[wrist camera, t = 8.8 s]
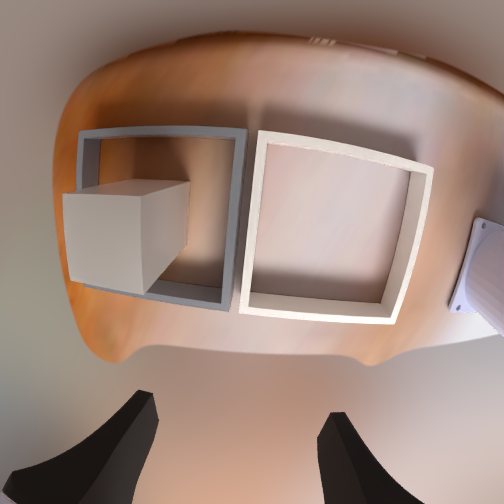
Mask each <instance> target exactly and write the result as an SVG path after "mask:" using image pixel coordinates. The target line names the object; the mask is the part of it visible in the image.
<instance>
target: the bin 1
mask: <svg viewBox="0 0 504 504" xmlns="http://www.w3.org/2000/svg"><path fill="white" fill-rule="evenodd" d="M137 137H184V138H209V139H225V140H236V141H235V150H234V159H233V169H232V179H231V189H230V200H229V211H228V222H227V234H226V246H225V259H224V272H223V286H222V288H215V287H207V286H200V285H193V284H186V283H179V282H172V281H165V280H158V279H157V280H156V281H155V282H154V283H153V284H152V286H151V287H150V288H149V289H148V290H147V292H146V293H145V294H144V295H140V294H135V293H129V292H124V291H119V290H114V289H109V288H104V287H99V286H94V285H89V284H85V283H83V285H84V287H89V288H93V289H98V290H103V291H107V292H112V293H117V294H122V295H127V296H132V297H138V298H143V299H148V300H154V301H160V302H166V303H172V304H178V305H184V306H191V307H197V308H204V309H211V310H219V311H226V312H229V310H230V306H231V301H232V297H233V286H234V275H235V264H236V254H237V243H238V233H239V222H240V212H241V202H242V193H243V183H244V173H245V164H246V155H247V146H248V137H249V132H248V130H247V129H241V128H228V127H210V126H134V127H117V128H104V129H94V130H85V131H79V136H78V149H77V168H76V190H80V189H84V188H88V187H93V186H98V184H99V158H100V144H101V139H113V138H137Z"/></svg>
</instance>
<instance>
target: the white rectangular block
mask: <svg viewBox="0 0 504 504" xmlns="http://www.w3.org/2000/svg"><path fill="white" fill-rule="evenodd" d="M189 196H190V181H174V180H154V179H128V180H123V181H117V182H112V183H107V184H102V185H98V186H93V187H88V188H84V189H80V190H75V191H71V192H67V193H63V219H64V233H65V244H66V253H67V261H68V268H69V275H70V280H71V281H76V282H80V283H85V284H89V285H94V286H99V287H104V288H109V289H114V290H119V291H124V292H129V293H135V294H140V295H144V294H145V293H146V292H147V290H148V289H149V288H150V287H151V286H152V284H153V283H154V282H155V281H156V280H157V279H158V277H159V276H160V275H161V274H162V273H163V272H164V270H165V269H166V268H167V267H168V266H169V265H170V264H171V262H172V261H173V260H174V259H175V258H176V257H177V256H178V254H179V253H180V252H181V251H182V250H183V249H184V248H185V247H186V245H187V236H188V213H189Z"/></svg>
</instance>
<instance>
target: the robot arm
mask: <svg viewBox="0 0 504 504" xmlns="http://www.w3.org/2000/svg"><path fill="white" fill-rule="evenodd" d="M482 224H483V226H482ZM457 306H458V307H457ZM448 310H449V311H450V312H451V313H479V314H480V315H481V316H482V317H483V318H484V319H485V320H486V321H487V322H488V323H489V324H490V325H492V326H493V327H494V328H495V329H496V330H497V331H498V332H499V333H500V334H501V335H502V336H503V337H504V226H503V225H500V224H497V223H494V222H491V221H488V220H485V219H482V218H479V217H477V218H476V219H475V220H474V224H473V228H472V233H471V237H470V241H469V245H468V249H467V252H466V256H465V259H464V263H463V266H462V269H461V273H460V276H459V279H458V282H457V285H456V288H455V290H454V293H453V296H452V299H451V301H450V304H449V307H448ZM158 422H159V419H158V415H157V411H156V406H155V402H154V397H153V393H150V392H146V391H142V390H138V391H136V393H135V394H134V395H133V396H132V397H131V398H130V399H129V400H128V401H127V402H126V403H125V404H124V405H123V406H122V407H121V409H119V410H118V411H117V412H116V413H115V414H114V415H113V416H112V417H111V418H110V419H109V420H108V421H107V422H106V423H105V424H103V425H102V426H101V427H100V428H99V429H97V430H96V431H95V432H94V433H93V434H91V435H90V436H89V437H87V438H86V439H85V440H83V441H82V442H80V443H79V444H77V445H76V446H74V447H73V448H71V449H69V450H67V451H66V452H64V453H62V454H60V455H58V456H56V457H54V458H52V459H50V460H47V461H45V462H42V463H40V464H37V465H34V466H31V467H28V468H24V469H20V470H17V471H13V472H12V473H11V475H10V476H9V478H8V480H7V482H6V484H5V486H4V488H3V492H4V493H5V494H6V495H7V496H8V497H9V498H10V499H12V500H13V501H14V502H13V501H12V500H10V499H9V498H8V497H7V496H5V495H4V494H3V493H1V492H0V504H16V503H17V504H132V500H133V495H134V491H135V487H136V484H137V481H138V478H139V476H140V473H141V470H142V468H143V466H144V463H145V461H146V458H147V456H148V453H149V451H150V448H151V446H152V443H153V441H154V437H155V434H156V430H157V426H158ZM317 450H318V463H319V469H320V474H321V481H322V487H323V493H324V501H325V504H424V503H423V502H421V501H420V500H418V499H417V498H415V497H414V496H413V495H411V494H410V493H409V492H408V491H406V490H405V489H404V488H403V487H402V486H401V485H400V484H398V483H397V482H396V481H395V480H394V479H393V478H392V477H391V476H390V475H389V474H388V472H387V471H386V470H385V469H384V468H383V467H382V466H381V464H380V463H379V462H378V461H377V459H376V458H375V457H374V456H373V454H372V453H371V452H370V450H369V449H368V447H367V446H366V445H365V443H364V442H363V440H362V439H361V437H360V436H359V434H358V433H357V431H356V429H355V428H354V426H353V425H352V423H351V422H350V420H349V418H348V417H347V415H346V413H345V412H333V413H330V415H329V417H328V418H327V420H326V422H325V424H324V426H323V428H322V430H321V432H320V434H319V436H318V437H317Z"/></svg>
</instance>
